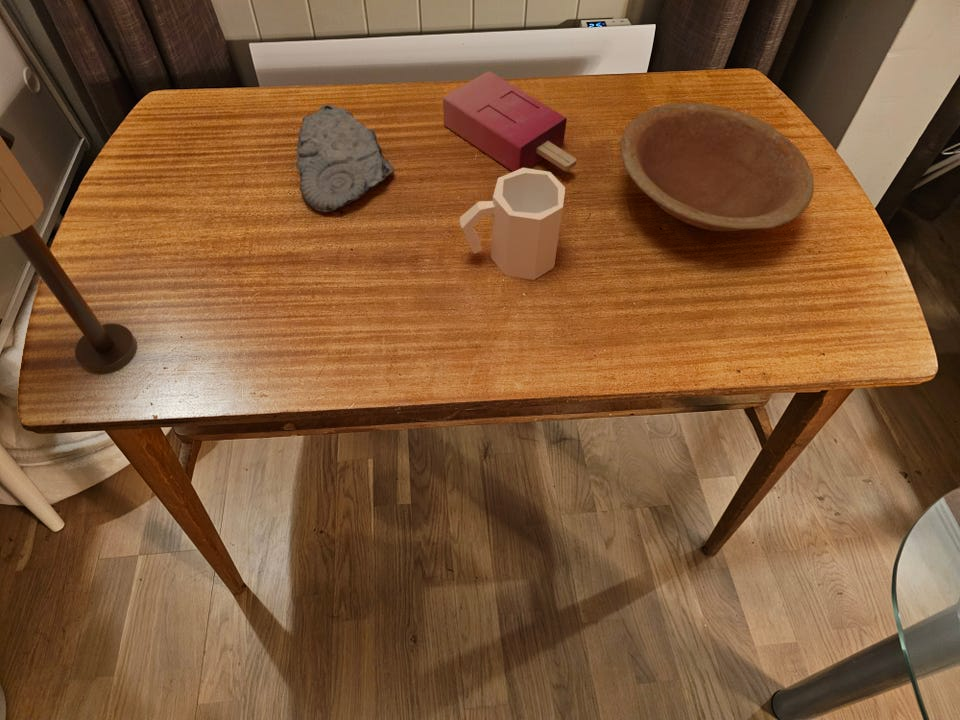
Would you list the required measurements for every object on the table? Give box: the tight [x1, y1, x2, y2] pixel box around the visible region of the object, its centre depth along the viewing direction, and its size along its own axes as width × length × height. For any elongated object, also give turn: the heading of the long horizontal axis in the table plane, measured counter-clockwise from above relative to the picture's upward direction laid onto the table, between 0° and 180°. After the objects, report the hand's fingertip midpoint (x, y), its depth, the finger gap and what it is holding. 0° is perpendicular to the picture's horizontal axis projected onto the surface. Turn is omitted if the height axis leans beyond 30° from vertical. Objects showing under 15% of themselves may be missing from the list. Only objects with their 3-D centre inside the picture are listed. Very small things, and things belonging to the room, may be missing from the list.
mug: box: [459, 168, 566, 281], centre depth 83 cm, size 12×9×10 cm
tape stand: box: [9, 224, 138, 375], centre depth 70 cm, size 6×6×20 cm
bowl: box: [619, 102, 815, 232], centre depth 89 cm, size 24×24×8 cm
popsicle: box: [442, 70, 577, 172], centre depth 97 cm, size 9×5×20 cm
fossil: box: [295, 104, 395, 213], centre depth 94 cm, size 13×18×4 cm
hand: (3, 172), depth 58 cm, fingers closed on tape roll, 5 cm apart
